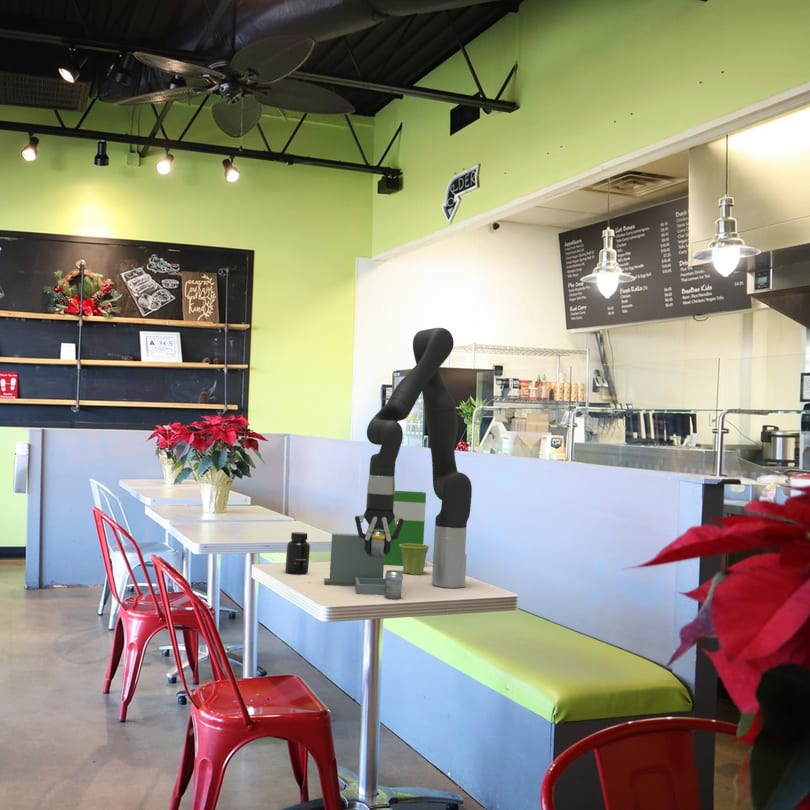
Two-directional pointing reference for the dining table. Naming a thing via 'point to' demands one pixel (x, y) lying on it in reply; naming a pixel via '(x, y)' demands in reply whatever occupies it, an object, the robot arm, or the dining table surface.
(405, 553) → the plant pot
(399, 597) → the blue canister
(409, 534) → the hardback book
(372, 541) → the grey gold-banded metal jar
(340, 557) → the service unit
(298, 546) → the supplement bottle
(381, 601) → the dining table surface
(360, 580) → the tray
